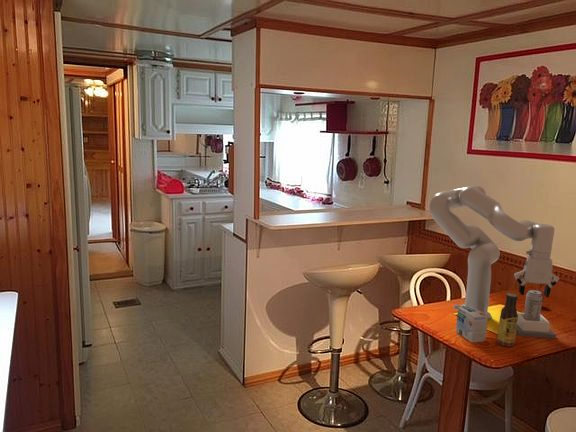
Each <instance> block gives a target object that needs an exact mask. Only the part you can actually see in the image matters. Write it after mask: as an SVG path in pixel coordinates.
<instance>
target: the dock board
mask: <svg viewBox="0 0 576 432" xmlns="http://www.w3.org/2000/svg"><path fill="white" fill-rule="evenodd" d="M517 315H518V321H517V328H516V335H518V336H519V337H530V338H531V337H532V338H545V339H556V338H557V337H556V336H557V334H556V333H555V332H554V331H553V330H552V329H551V328H550V326H551V322H550V321H549V320H548V319H546V318H545V317H544V315H543V314H540V321H527V320H525V319H524V312H518V311H517Z"/></svg>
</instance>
